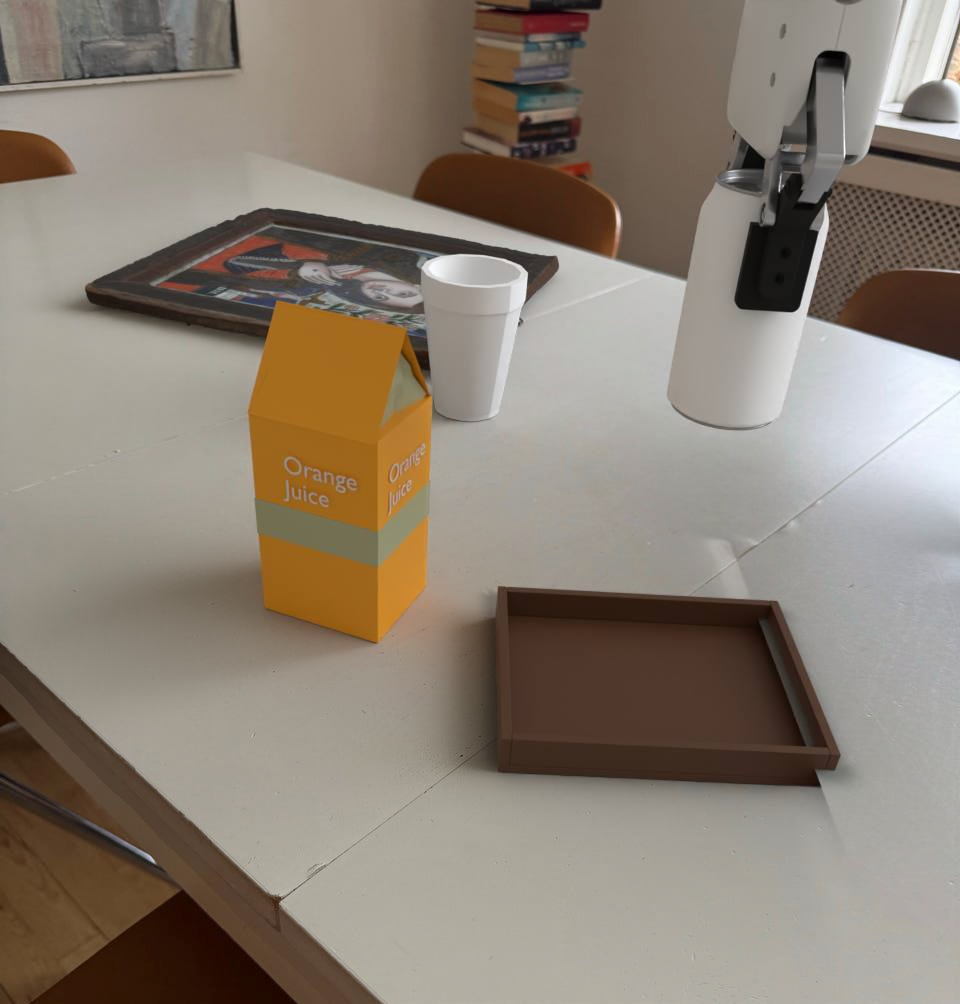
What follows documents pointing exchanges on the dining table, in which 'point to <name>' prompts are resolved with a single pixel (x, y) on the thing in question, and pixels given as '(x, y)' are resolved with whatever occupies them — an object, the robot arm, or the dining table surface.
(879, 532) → the dining table surface
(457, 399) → the foam cup
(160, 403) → the dining table surface
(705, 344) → the can
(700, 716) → the serving tray
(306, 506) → the orange juice
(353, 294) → the framed picture
